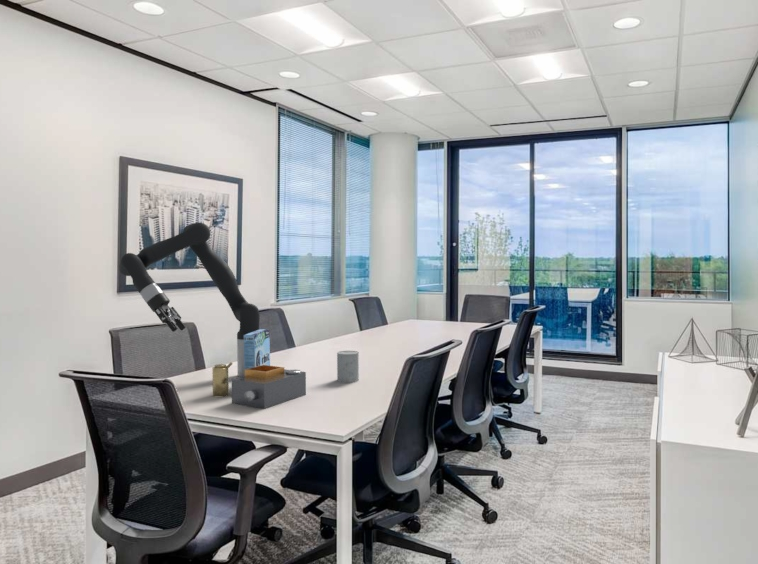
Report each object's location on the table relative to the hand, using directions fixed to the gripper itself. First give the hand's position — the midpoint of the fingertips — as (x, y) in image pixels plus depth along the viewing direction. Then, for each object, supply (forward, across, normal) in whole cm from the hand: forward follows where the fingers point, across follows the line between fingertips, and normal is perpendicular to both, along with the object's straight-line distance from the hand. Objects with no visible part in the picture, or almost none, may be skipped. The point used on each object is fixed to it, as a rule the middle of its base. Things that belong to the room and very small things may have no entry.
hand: (179, 329), depth 222 cm
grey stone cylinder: (+59, +28, -36) cm, 74 cm away
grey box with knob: (+43, -6, -12) cm, 45 cm away
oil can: (+30, +1, +3) cm, 30 cm away
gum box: (+36, +17, -6) cm, 41 cm away
